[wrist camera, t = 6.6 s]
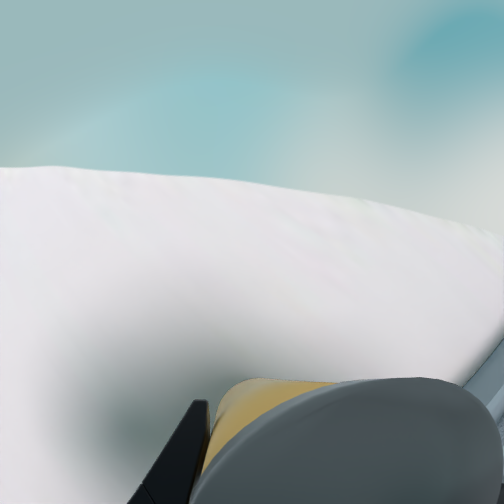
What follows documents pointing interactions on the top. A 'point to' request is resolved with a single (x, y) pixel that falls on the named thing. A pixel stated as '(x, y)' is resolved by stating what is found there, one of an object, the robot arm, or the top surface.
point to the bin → (490, 384)
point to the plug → (351, 444)
